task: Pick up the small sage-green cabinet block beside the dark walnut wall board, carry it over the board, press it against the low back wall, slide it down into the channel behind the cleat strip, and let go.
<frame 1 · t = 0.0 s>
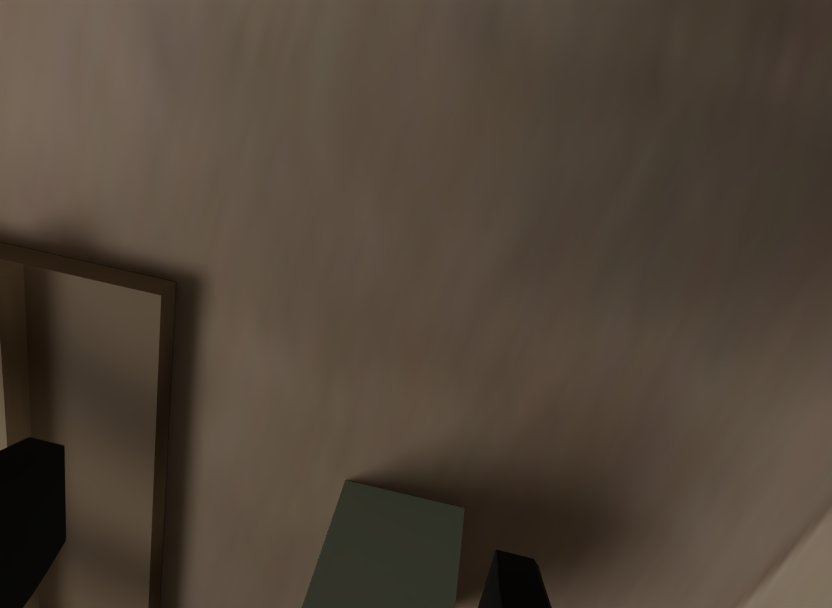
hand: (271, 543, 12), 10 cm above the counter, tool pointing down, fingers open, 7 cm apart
cabinet block: (393, 545, 25), on the counter
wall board: (1, 497, 26), on the counter
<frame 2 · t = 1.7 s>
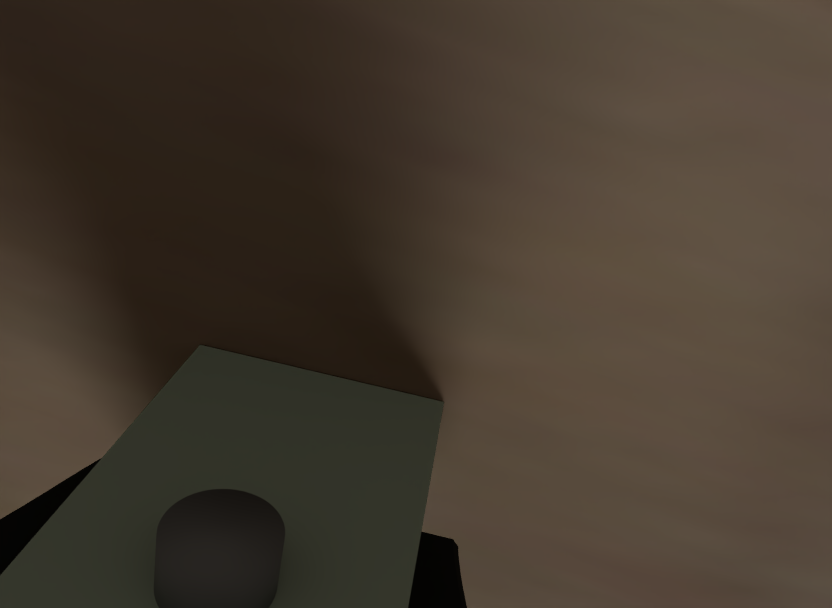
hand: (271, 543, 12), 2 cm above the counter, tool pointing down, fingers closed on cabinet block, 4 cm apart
cabinet block: (307, 462, 14), on the counter, touching gripper
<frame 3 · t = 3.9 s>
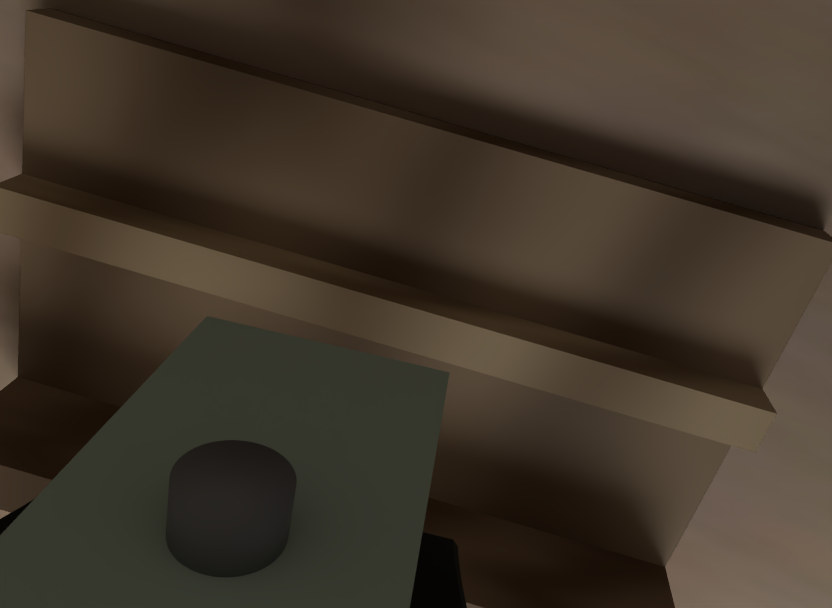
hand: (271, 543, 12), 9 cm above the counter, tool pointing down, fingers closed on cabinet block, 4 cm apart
cabinet block: (312, 435, 14), point 7 cm above the counter, touching gripper
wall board: (380, 326, 21), on the counter
when the fingers open (4 cm above the counter, at t = 6.1 s): cabinet block stays where it is, resting on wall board.
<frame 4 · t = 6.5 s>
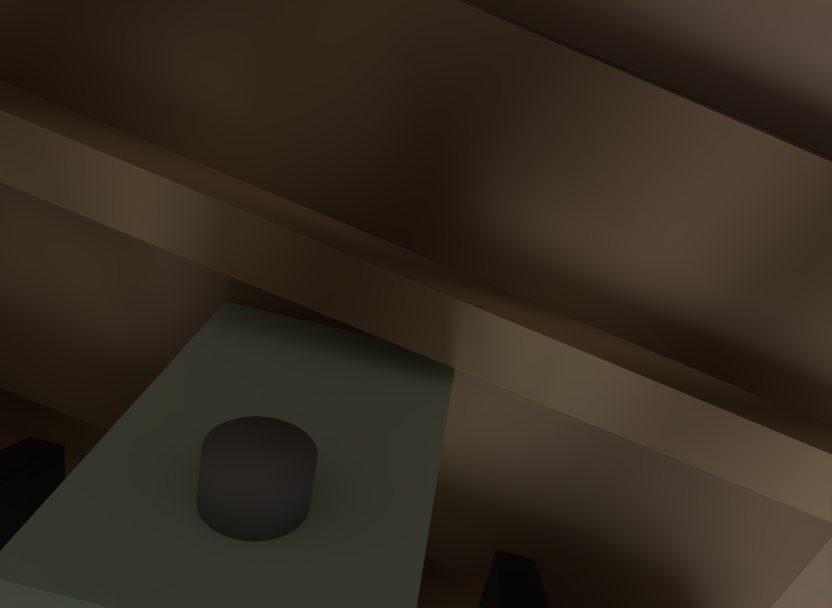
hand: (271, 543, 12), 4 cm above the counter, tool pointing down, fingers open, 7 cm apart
cabinet block: (325, 416, 15), point 1 cm above the counter, touching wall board
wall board: (370, 310, 15), on the counter
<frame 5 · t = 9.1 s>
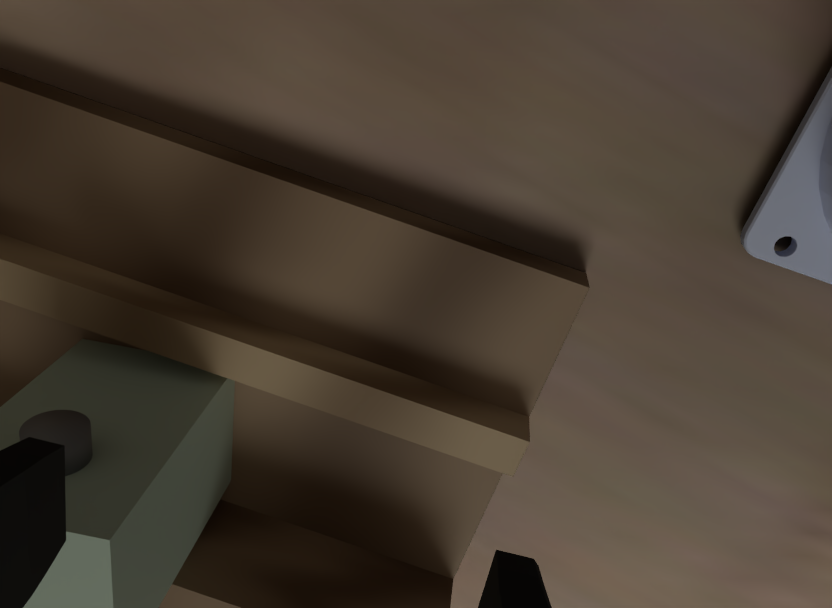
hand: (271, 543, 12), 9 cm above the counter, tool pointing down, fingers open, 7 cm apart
cabinet block: (159, 411, 22), point 1 cm above the counter, touching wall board
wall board: (186, 338, 22), on the counter
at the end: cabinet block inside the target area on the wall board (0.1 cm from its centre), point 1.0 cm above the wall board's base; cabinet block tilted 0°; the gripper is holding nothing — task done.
